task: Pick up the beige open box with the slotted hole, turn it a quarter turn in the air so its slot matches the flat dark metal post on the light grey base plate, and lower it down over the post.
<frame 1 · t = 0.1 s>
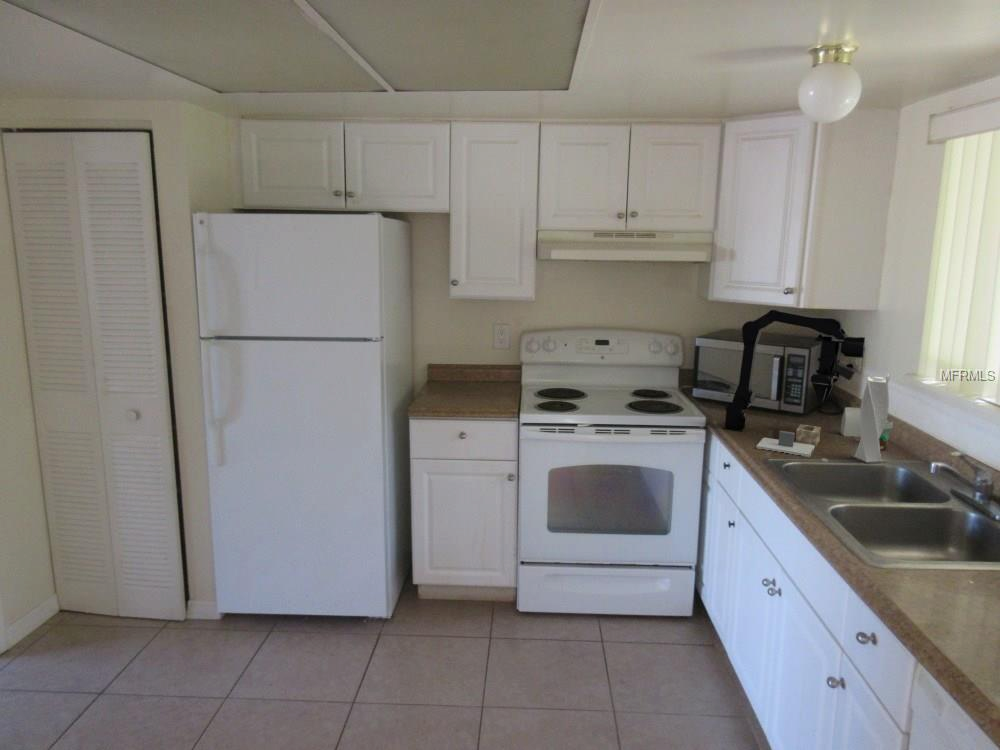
hand: (823, 400, 224), 14 cm above the counter, tool pointing down, fingers open, 9 cm apart
tea bag: (852, 435, 236), on the counter
beige open box: (807, 442, 225), on the counter
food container: (879, 448, 221), on the counter
skyscraper: (868, 460, 207), on the counter
post stand: (785, 448, 218), on the counter
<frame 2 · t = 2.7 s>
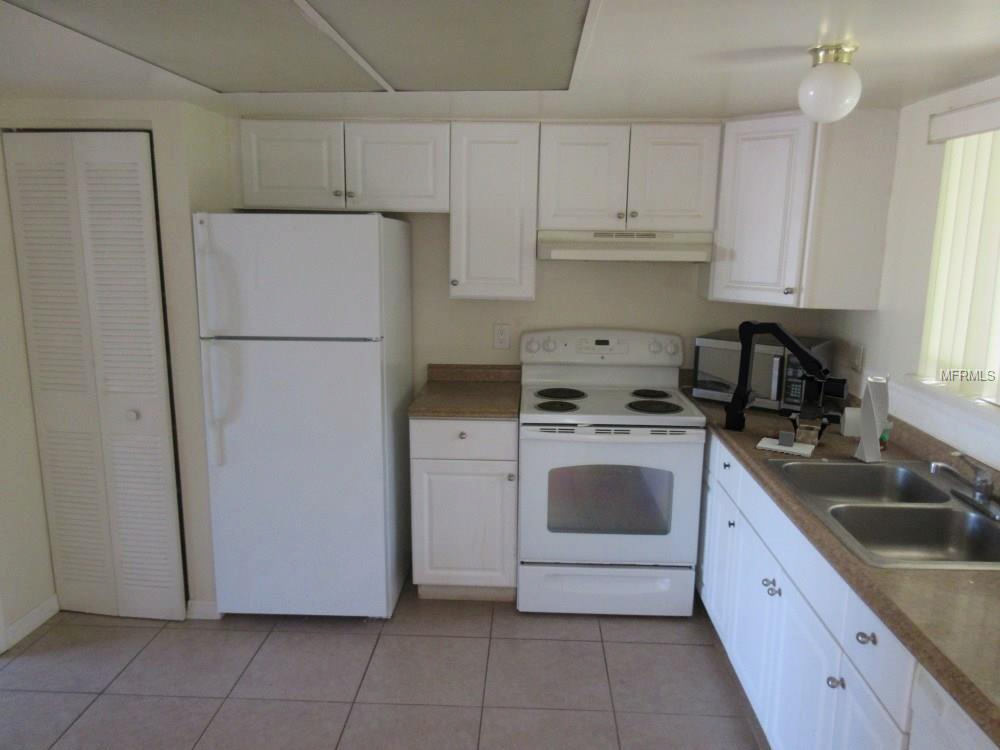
hand: (807, 439, 225), 1 cm above the counter, tool pointing down, fingers closed on beige open box, 6 cm apart
beige open box: (807, 442, 225), on the counter, touching gripper
everything else where it was.
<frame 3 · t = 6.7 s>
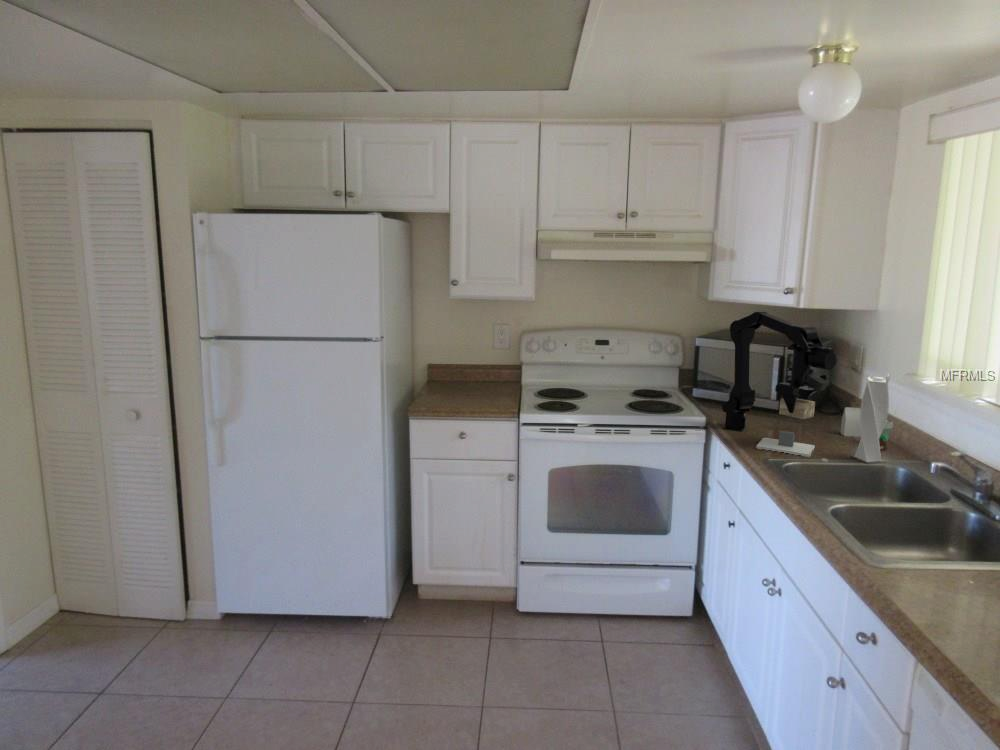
hand: (796, 411, 218), 12 cm above the counter, tool pointing down, fingers closed on beige open box, 6 cm apart
beige open box: (796, 415, 218), point 11 cm above the counter, touching gripper
everything else where it was.
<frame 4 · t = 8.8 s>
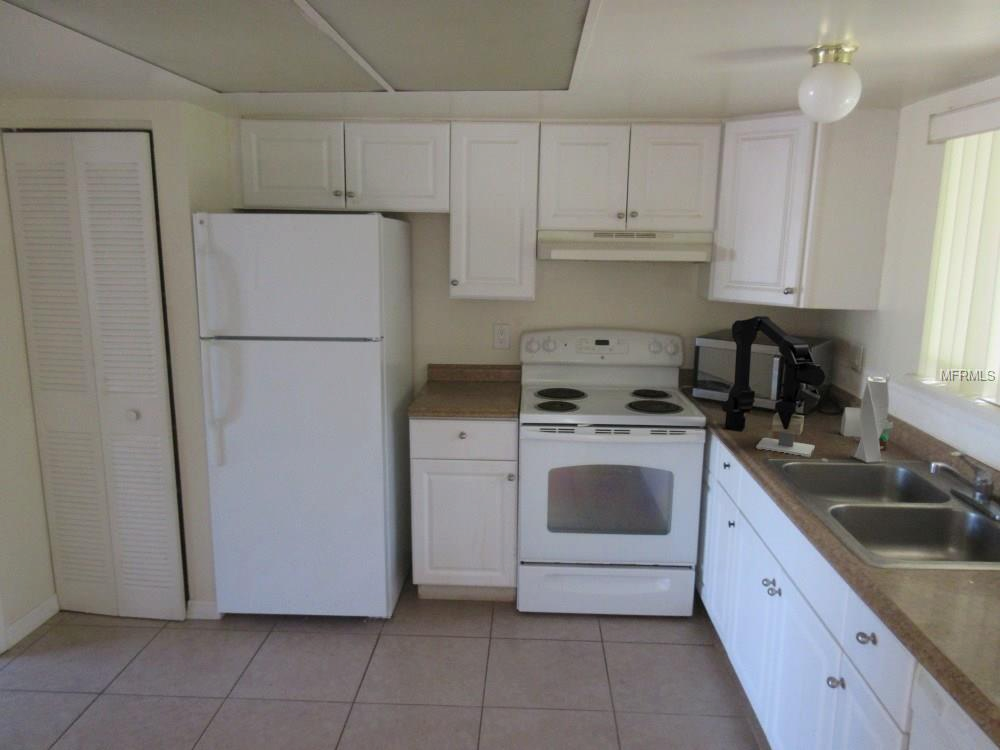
hand: (787, 427, 217), 7 cm above the counter, tool pointing down, fingers closed on beige open box, 6 cm apart
beige open box: (787, 430, 217), point 6 cm above the counter, touching gripper
everything else where it was.
when the fingers open (4 cm above the counter, at t = 10.8 s): beige open box drops 2 cm, resting on post stand.
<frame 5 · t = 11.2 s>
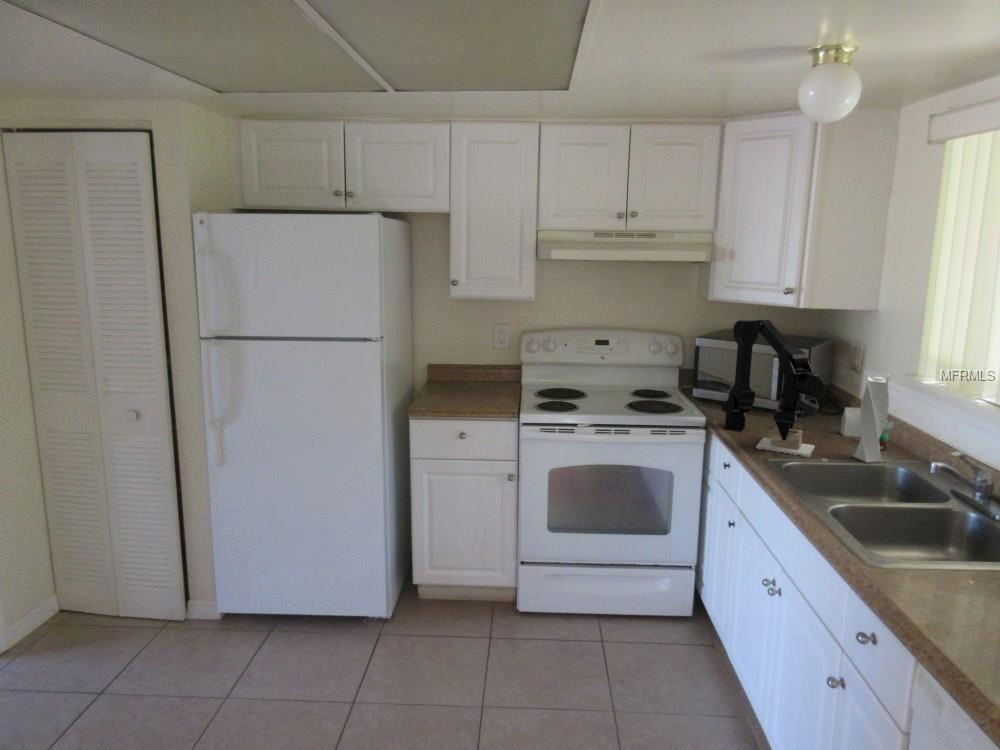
hand: (786, 436, 217), 4 cm above the counter, tool pointing down, fingers open, 9 cm apart
beige open box: (785, 445, 218), point 1 cm above the counter, touching post stand
everything else where it was.
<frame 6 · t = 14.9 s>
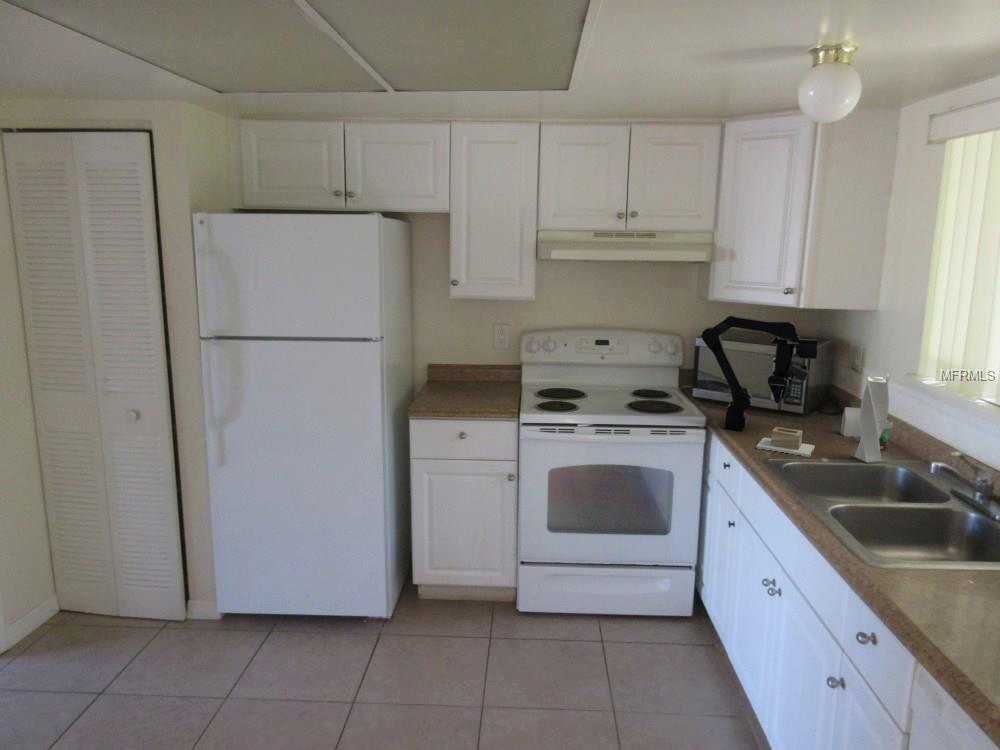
hand: (779, 400, 234), 12 cm above the counter, tool pointing down, fingers open, 9 cm apart
nothing on the counter moved.
at the end: beige open box 0.1 cm off-centre on the post stand, point 1.0 cm above the post stand's base; beige open box tilted 0°; the gripper is holding nothing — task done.
